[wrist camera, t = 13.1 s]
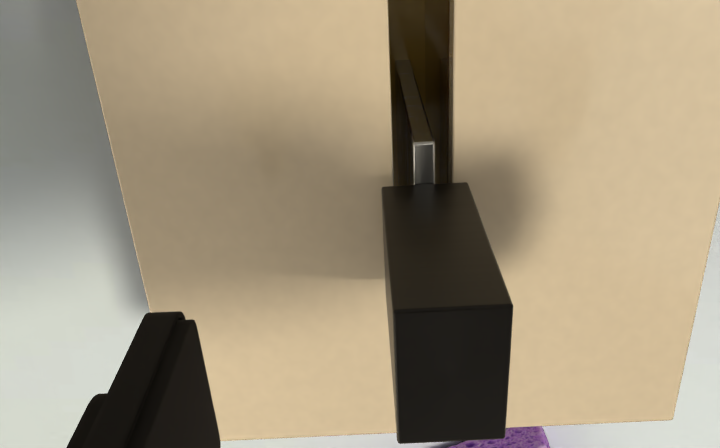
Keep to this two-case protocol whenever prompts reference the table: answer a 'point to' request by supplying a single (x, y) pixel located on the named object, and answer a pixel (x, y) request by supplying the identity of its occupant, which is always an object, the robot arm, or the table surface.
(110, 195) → the table surface
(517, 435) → the sponge
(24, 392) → the table surface
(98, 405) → the robot arm
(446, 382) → the knife
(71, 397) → the table surface
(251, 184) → the cake
